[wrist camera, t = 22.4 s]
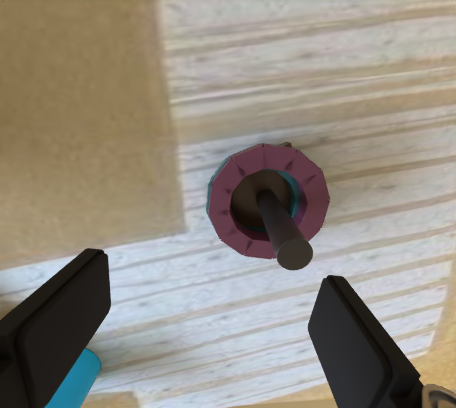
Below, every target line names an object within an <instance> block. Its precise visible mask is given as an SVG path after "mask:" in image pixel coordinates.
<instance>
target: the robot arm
mask: <svg viewBox="0 0 456 408" xmlns="http://www.w3.org/2000/svg"><path fill="white" fill-rule="evenodd" d="M110 307H111V297H110V281H109V266H108V255H107V254H104V251H103V250H100V249H91V248H87V249H85V250H84V251H83V252H82V253H81V254H79V255H78V256H77V257H76V258H74V259H73V260H72V261H71V262H70V263H68V264H67V265H66V266H65V267H64V268H62V269H61V270H60V271H59V272H58V273H56V274H55V275H54V276H53V277H52V278H50V279H49V280H48V281H47V282H46V283H44V284H43V285H42V286H41V287H40V288H38V289H37V290H36V291H35V292H34V293H32V294H31V295H30V296H29V297H28V298H26V299H25V300H24V301H23V302H22V303H20V304H19V305H18V306H17V307H15V308H14V309H13V310H12V311H11V312H9V313H8V314H7V315H6V316H5V317H3V318H2V319H1V320H0V408H44V407H46V406H47V404H48V403H49V402H50V400H51V399H52V397H53V396H54V394H55V393H56V391H57V390H58V388H59V387H60V385H61V384H62V382H63V381H64V379H65V378H66V376H67V375H68V373H69V372H70V370H71V368H72V367H73V365H74V364H75V362H76V361H77V359H78V358H79V356H80V355H81V353H82V352H83V350H84V349H85V347H86V346H87V344H88V343H89V341H90V340H91V338H92V337H93V335H94V334H95V332H96V331H97V329H98V328H99V326H100V325H101V323H102V322H103V320H104V319H105V317H106V316H107V314H108V312H109V310H110ZM308 332H309V335H310V337H311V340H312V342H313V345H314V348H315V350H316V353H317V355H318V358H319V360H320V363H321V365H322V368H323V371H324V373H325V376H326V378H327V381H328V383H329V386H330V388H331V391H332V393H333V396H334V399H335V401H336V404H337V406H338V408H456V394H455V393H453V392H452V391H450V390H448V389H446V388H444V387H442V386H438V385H435V384H427V385H425V386H423V384H422V383H421V382H420V380H419V378H420V376H421V375H420V374H419V373H418V371H417V370H416V369H415V368H414V366H413V365H412V364H411V362H410V361H409V360H408V359H407V357H406V356H405V355H404V353H403V352H402V351H401V350H400V348H399V347H398V346H397V344H396V343H395V342H394V341H393V339H392V338H391V337H390V336H389V334H388V333H387V332H386V330H385V329H384V328H383V327H382V325H381V324H380V323H379V321H378V320H377V319H376V318H375V316H374V315H373V314H372V312H371V311H370V310H369V309H368V307H367V306H366V305H365V303H364V302H363V301H362V300H361V298H360V297H359V296H358V295H357V293H356V292H355V291H354V289H353V288H352V287H351V286H350V284H349V283H348V282H347V280H346V279H345V278H344V277H342V276H334V275H328V276H327V278H324V279H323V281H322V284H321V287H320V290H319V293H318V296H317V299H316V302H315V305H314V308H313V311H312V314H311V317H310V320H309V323H308Z"/></svg>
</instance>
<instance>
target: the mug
mask: <svg viewBox="0 0 456 408" xmlns="http://www.w3.org/2000/svg"><path fill="white" fill-rule="evenodd" d="M100 370H101V363H100V361H99V359H98V357H97V356H96V355H95V354H94V353H93V352H91V351H90V350H88V349H86V348H85V349H84V350H83V352H82V353H81V355H80V356H79V358H78V359H77V361H76V362H75V364H74V365H73V367H72V368H71V370H70V372H69V373H68V375H67V376H66V378H65V379H64V381H63V382H62V384H61V385H60V387H59V388H58V390H57V391H56V393H55V394H54V396H53V397H52V399H51V400H50V402H49V403H48V404H47V406H46V407H44V408H80V407H81V405H82V403H83V401H84V399H85V398H86V396H87V394H88V392H89V390H90V388H91V387H92V385H93V383H94V381H95V379H96V377H97V375H98V374H99V372H100Z"/></svg>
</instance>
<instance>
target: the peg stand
mask: <svg viewBox="0 0 456 408" xmlns="http://www.w3.org/2000/svg"><path fill="white" fill-rule="evenodd" d="M279 146H285V147H291V148H292V146H291V143H289V142H285V143H283V144H281V145H279ZM290 197H291V193H290V190H289V187H288V184H287V181H286V179H285V178H284V177H282V176H281V175H280V174H279V173H277V172H276V171H268V170H260V171H258V172H255V173H253V174H250V175H248V176H245V177H244V179H243V180H242V181H241V182H240V184H239V185H238V186H237V187H236V189H235V190H234V191H233V192H232V198H231V205H230V207H231V209H232V212H233V214H234V216H235V219H236V220H237V221H239V222H240V223H241V224H243V225H244V226H248V227H256V228H262V227H265V228H266V230H267V233H268V236H269V239H270V242H271V244H272V247H273V250H274V253H275V255H276V258H277V261H278V263H279V264H280V265H281V266H282V267H283V268H285V269H288V270H299V269H302V268H304V267H305V266H307V265H308V264H309V263H310V261H311V259H312V257H313V250H312V247H311V245H310V244H309V242H308V241H307V240H306V238H305V237H304V235H303V234H302V232H301V231H300V229H299V228H298V227H297V225H296V224H295V222H294V221H293V219H292V218H291V217H290V215H289V214H288V212H287V210H288V206H289V202H290Z"/></svg>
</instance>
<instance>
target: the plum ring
mask: <svg viewBox="0 0 456 408" xmlns="http://www.w3.org/2000/svg"><path fill="white" fill-rule="evenodd" d="M263 169H272V170H279V171H286V172H287V173H288V174H290V175H291V176H292V177H293V178H294V179H296V182H297V185H298V188H299V192H300V195H301V199H300V203H299V207H298V211H297V214H296V215H295V216H294V217H293V218H292V219H293V221H294V222H295V224H296V225H297V227H298V228H299V229H300V231H301V232H302V234H303V235H304V237H305V238H306V240H307V241H309V240H311V239H312V238H313V237H314V236H315V235H316V234H317V233H318V232H319V231H320V228H322V225H323V222H324V218H325V215H326V212H327V209H328V205H329V202H330V201H329V199H330V197H329V193H328V190H327V186H326V182H325V179H324V175H323V171H321V169H320V168H319V167H318V166H317V165H315V164H314V163H313V162H312V161H311V160H310V159H309V158H307V157H306V156H305V155H304V154H303V153H302V152H300V151H299V150H297V149H295V148H291V147H285V146H278V145H271V144H264V143H262V144H257V145H255V146H252V147H250V148H248V149H245V150H243V151H240V152H238V153H236V154H233V155H232V157H230V158H229V159H228V160H227V162H226V163H225V164H224V166H223V167H222V168H221V169H220V171H219V172H218V173H217V175H216V176H215V177H214V179H213V182H212V184H211V191H210V200H209V209H208V213H209V218H210V220H211V222H212V224H213V226H214V228H215V230H216V232H217V234H218V237H219V239H221V241H222V242H224V243H225V244H227V245H228V246H230V247H231V248H233V249H234V250H236V251H237V252H238V253H240V254H241V255H244V256H248V257H256V258H265V259H271V258H273V259H274V258H276V255H275V253H274V250H273V247H272V244H271V242H270V239H269V236H268V233H265V232H258V231H250V230H249V229H247V228H246V227H244V226H243V225H242V224H240V223H239V222H238V221H236V219H235V216H234V214H233V212H232V209H231V207H230V205H231V198H232V192H233V191H234V190H235V189H236V187H237V186H238V185H239V184H240V182H241V181H242V180H243V179H244V177H245V176H248V175H250V174H253V173H255V172H258V171H260V170H263Z"/></svg>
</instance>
